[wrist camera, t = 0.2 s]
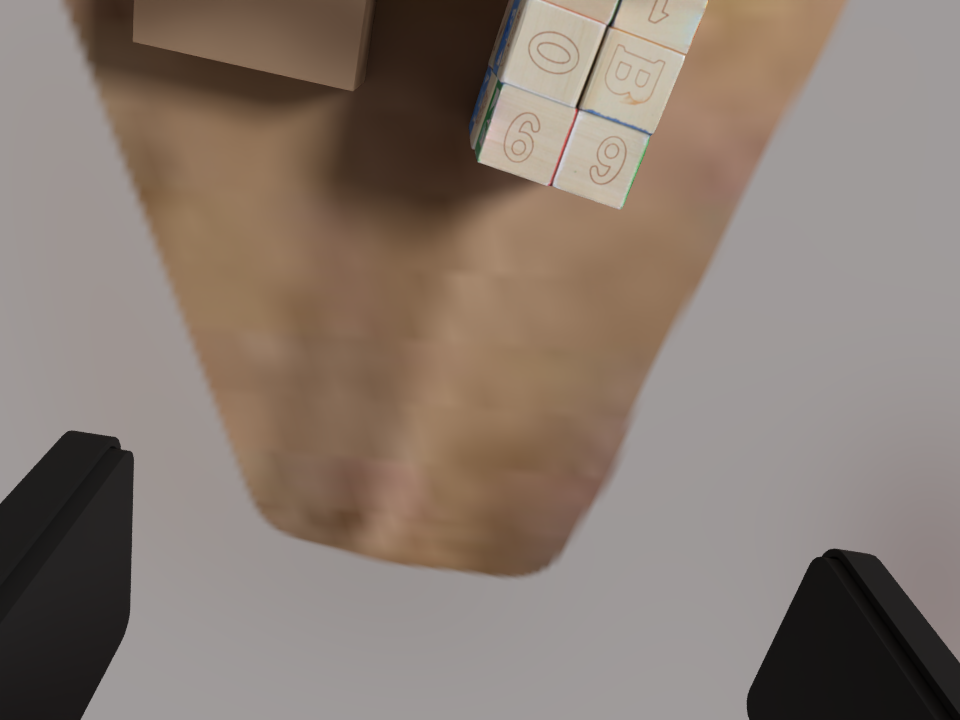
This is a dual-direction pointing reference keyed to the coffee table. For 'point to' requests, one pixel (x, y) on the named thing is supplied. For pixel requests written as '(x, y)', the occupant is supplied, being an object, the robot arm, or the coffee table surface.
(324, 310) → the coffee table surface
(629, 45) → the stack of blocks
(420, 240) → the coffee table surface
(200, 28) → the walnut block
